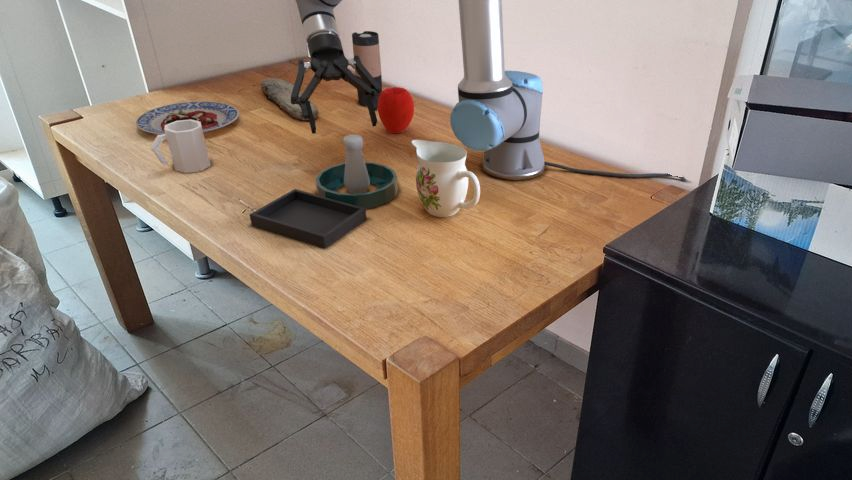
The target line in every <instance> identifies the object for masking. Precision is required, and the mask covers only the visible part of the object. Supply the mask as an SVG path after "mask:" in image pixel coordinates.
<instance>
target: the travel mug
mask: <svg viewBox="0 0 852 480" xmlns="http://www.w3.org/2000/svg"><path fill="white" fill-rule="evenodd" d="M351 38H352V39H351V41H352V53H353V57H354V56H359V58H360V60H361V63H362V65H363V66H364V67H365V68H366V69H367V71H368V72H369V73H370V74H371V75H372V77H373V78H374V79H375V80H376V81H377V83H378V84H379V85H380V86H381V87H382V88H383V81H382V80H383V76H382V62H381V50H380V49H381V48H380V39H379V38H380V37H379V33H378V32H376V31H372V30H365V31H363V32H361V33H358V31H357V32H356V31H355V32H353V33H351ZM354 75H355V76H356V77H358V78H359V79H360V80H362V81H363V82H364V83H365V84H366V82H365V81H364V80H363V79H362V78H361V77H360V75H359V74H358V73H357V71H356V70H355V69H354ZM382 91H383V90H382ZM382 91H381V92H382ZM356 93H357V100H358V104H359V105H360V106H362V107H368V106H367V103H366V98H367V96H365V95H364V94H363V93H361V92H360V91H359V90H358V89H356ZM378 99H379V96H376V100H377V104H378Z"/></svg>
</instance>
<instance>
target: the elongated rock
mask: <svg viewBox="0 0 852 480" xmlns="http://www.w3.org/2000/svg"><path fill="white" fill-rule="evenodd" d="M294 84H295V83H291V82H289V81H286V80H284V79H280V78H276V77H275V78H274V77H273V78H272V77H271V78H266V79H263V80H261V82H260V87H261V90H262V92H264V94H266V95H267V96H268V100H271V101H273V102H274V103H276V104H278V106H279V107H280V108H282V109H283V110H284V111H286V112H287V113H288V114H289V115H290V116H291V117H292V118H295V119H298V120H300V121H309V119H308V118H307V119H304V117H303V115H302V111H301V107H300V105H298V104H291V94H292V91H293V87H294ZM302 94H303V91H302V90H301V89H300V92H299V95H298V96H299V97H301V95H302ZM308 101H310V105H311V109H312V113H313V117H314V120H317V119H318V117H319V116H318V115H319V110H318V108H317V105H316V104H314V103H313V102H312V100H311V99H309V100H308Z"/></svg>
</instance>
